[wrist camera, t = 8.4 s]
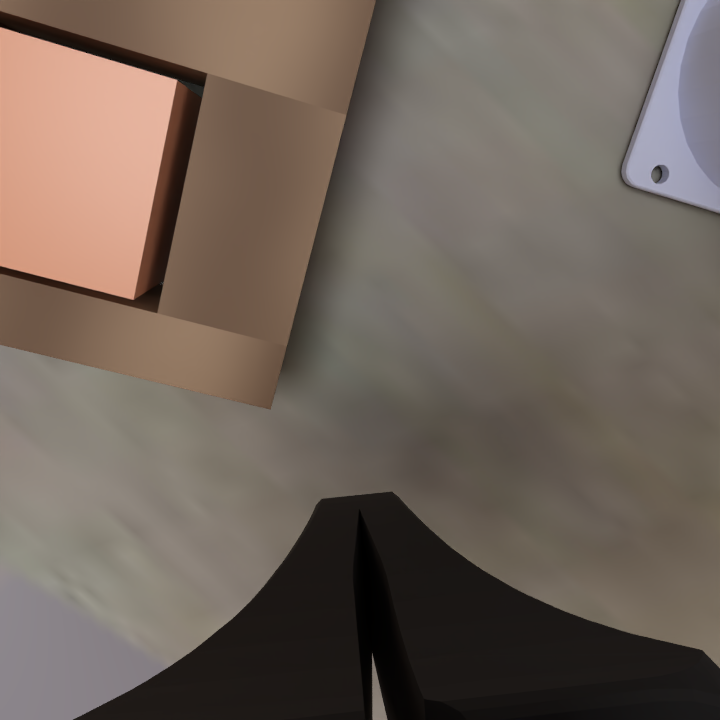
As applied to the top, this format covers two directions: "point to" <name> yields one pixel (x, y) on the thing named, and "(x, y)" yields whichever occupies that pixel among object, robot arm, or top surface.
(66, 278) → the terracotta button
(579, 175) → the top surface
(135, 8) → the brown block tray
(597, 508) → the top surface
